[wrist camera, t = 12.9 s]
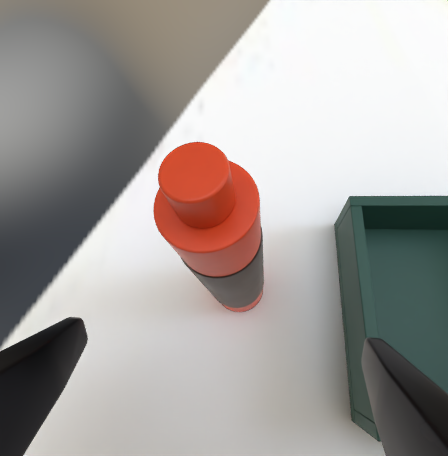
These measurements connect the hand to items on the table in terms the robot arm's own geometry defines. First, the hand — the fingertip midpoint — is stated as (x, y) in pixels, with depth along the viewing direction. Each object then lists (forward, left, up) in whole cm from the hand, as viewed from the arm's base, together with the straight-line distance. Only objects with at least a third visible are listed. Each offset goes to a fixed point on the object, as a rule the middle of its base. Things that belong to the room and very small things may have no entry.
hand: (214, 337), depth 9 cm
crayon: (+3, 0, -9) cm, 9 cm away
